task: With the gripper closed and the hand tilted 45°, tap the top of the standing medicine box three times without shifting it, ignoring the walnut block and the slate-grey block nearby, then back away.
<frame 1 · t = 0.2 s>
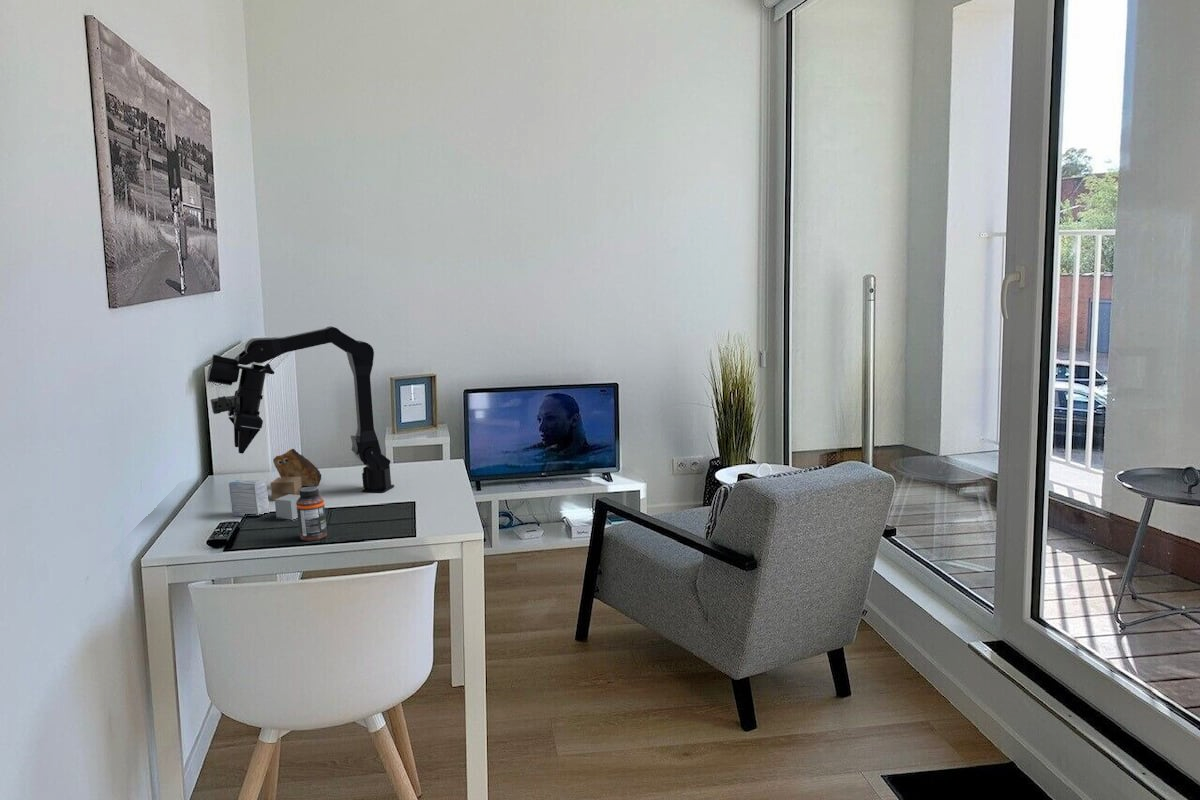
hand: (238, 450, 244), 15 cm above the table, tool tilted 15°, fingers open, 9 cm apart
slate-grey block: (291, 517, 238), on the table
medicine box: (251, 515, 242), on the table
walnut block: (287, 498, 257), on the table
supplement bottle: (313, 538, 220), on the table
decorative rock: (299, 486, 270), on the table
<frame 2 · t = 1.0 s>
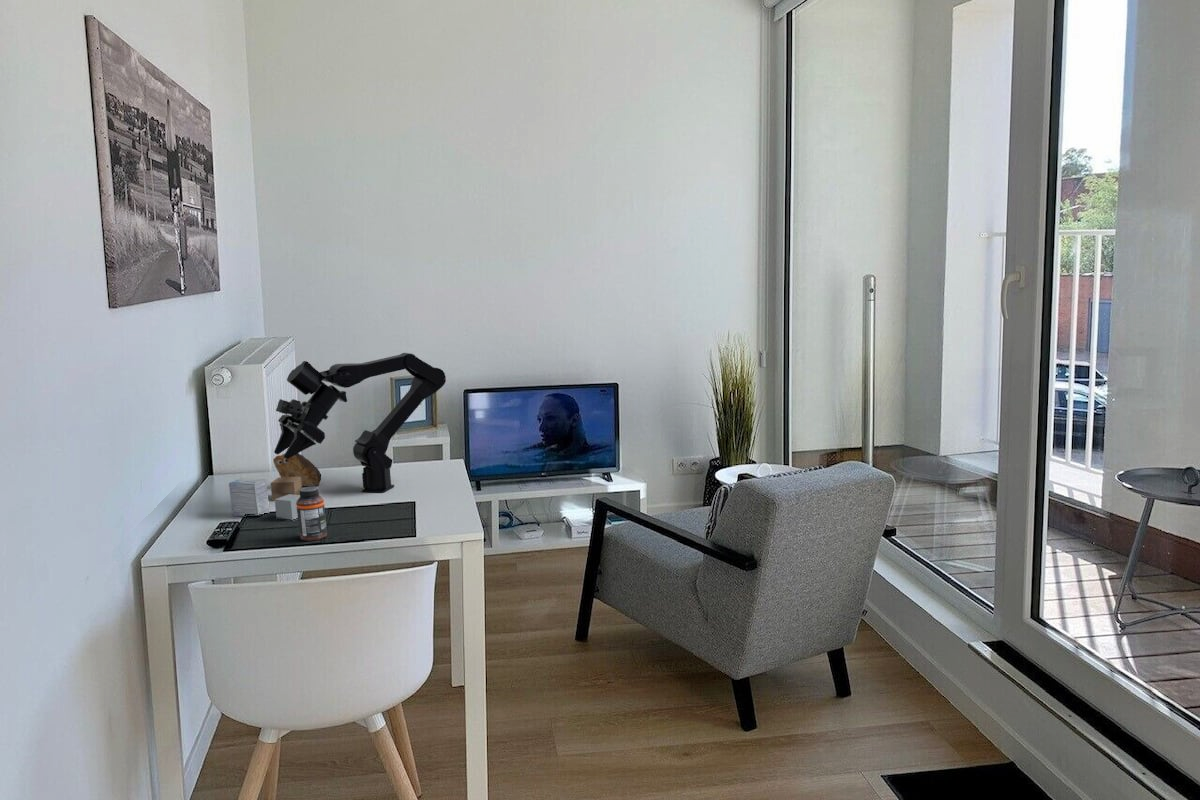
hand: (280, 455, 245), 13 cm above the table, tool tilted 45°, fingers open, 7 cm apart
nothing on the table moved.
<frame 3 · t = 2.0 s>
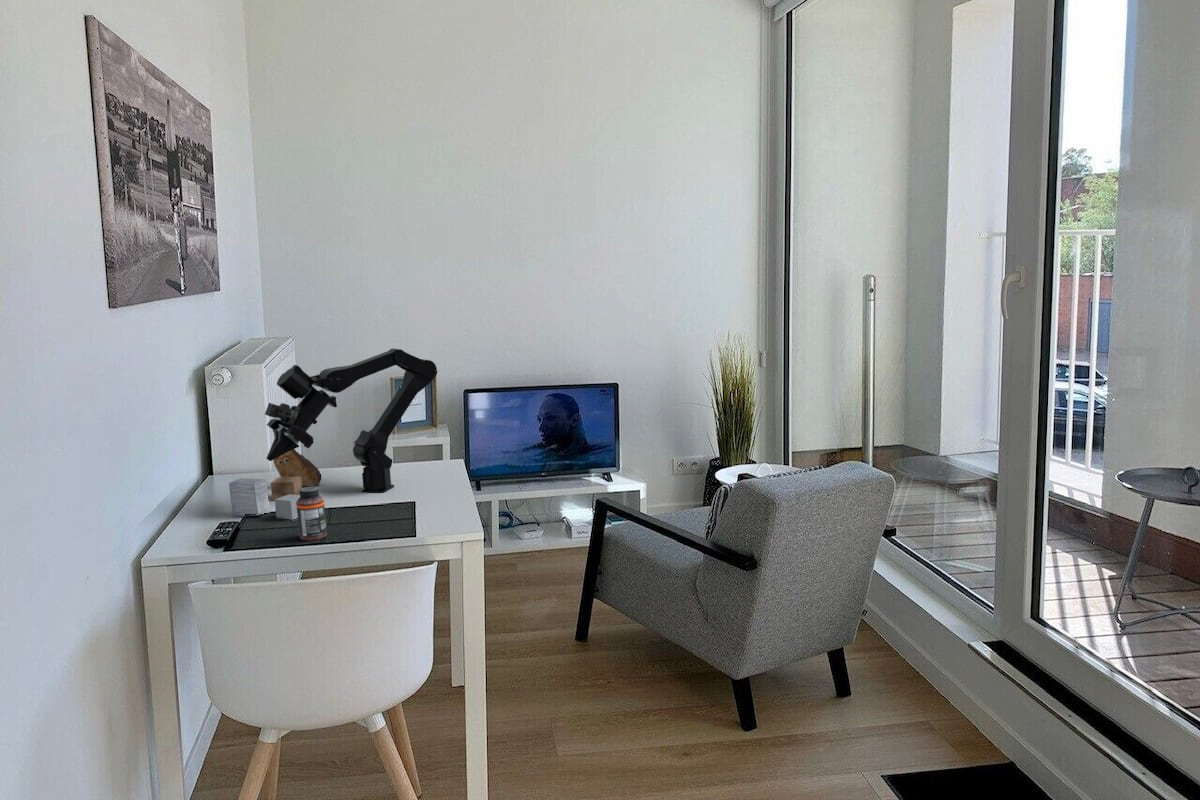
hand: (268, 459, 243), 13 cm above the table, tool tilted 45°, fingers closed
nothing on the table moved.
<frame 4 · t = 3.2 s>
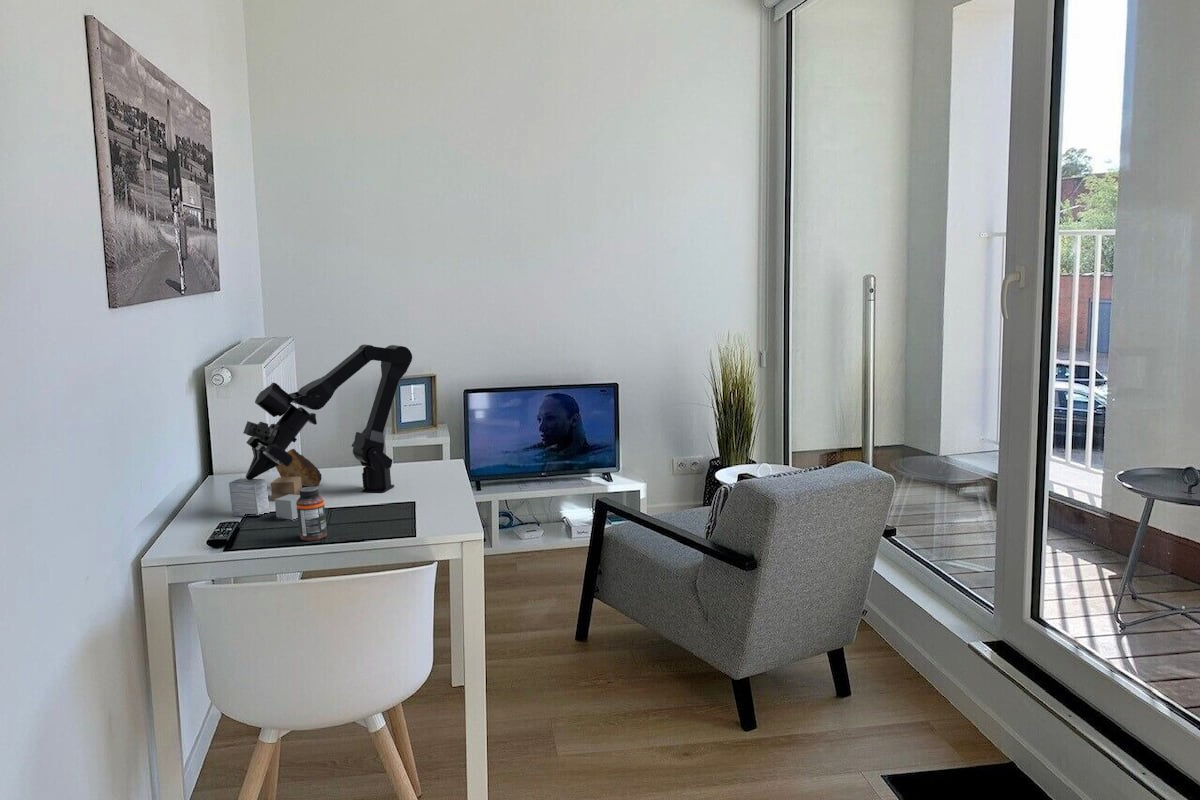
hand: (247, 478, 240), 9 cm above the table, tool tilted 45°, fingers closed
nothing on the table moved.
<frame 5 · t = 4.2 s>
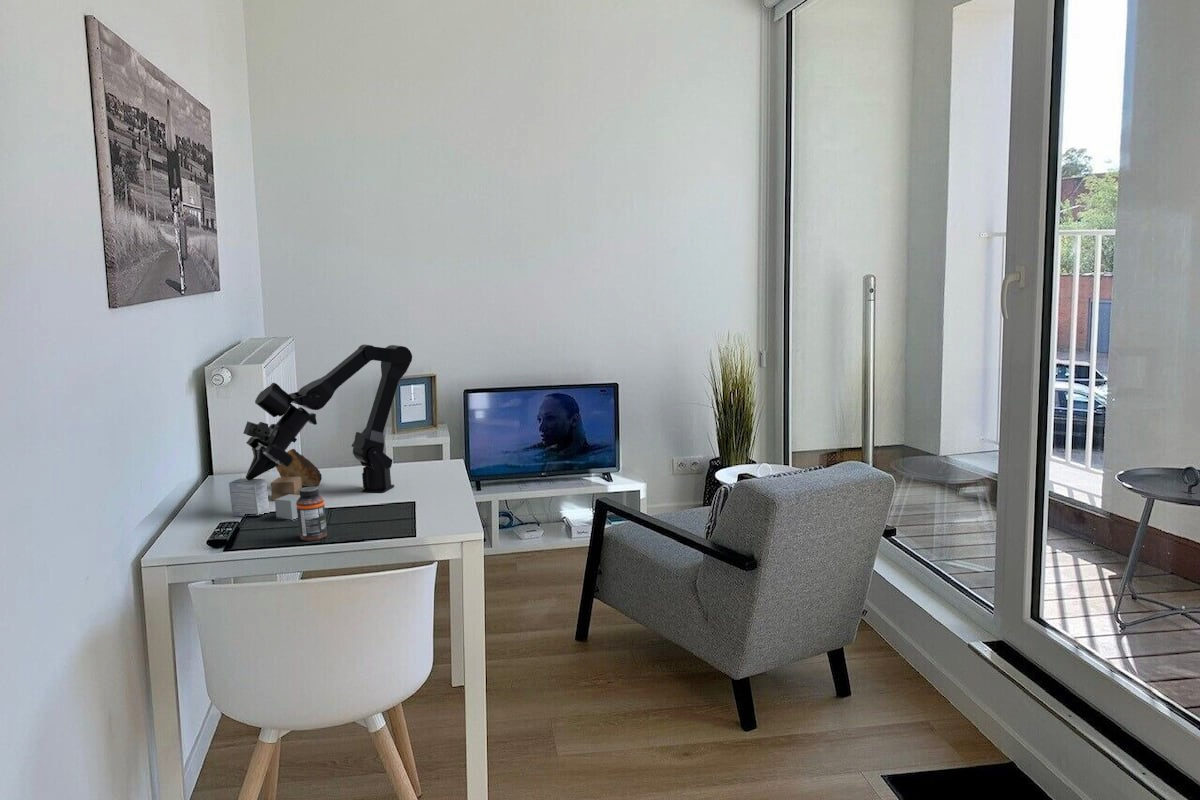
hand: (247, 479, 240), 9 cm above the table, tool tilted 45°, fingers closed
nothing on the table moved.
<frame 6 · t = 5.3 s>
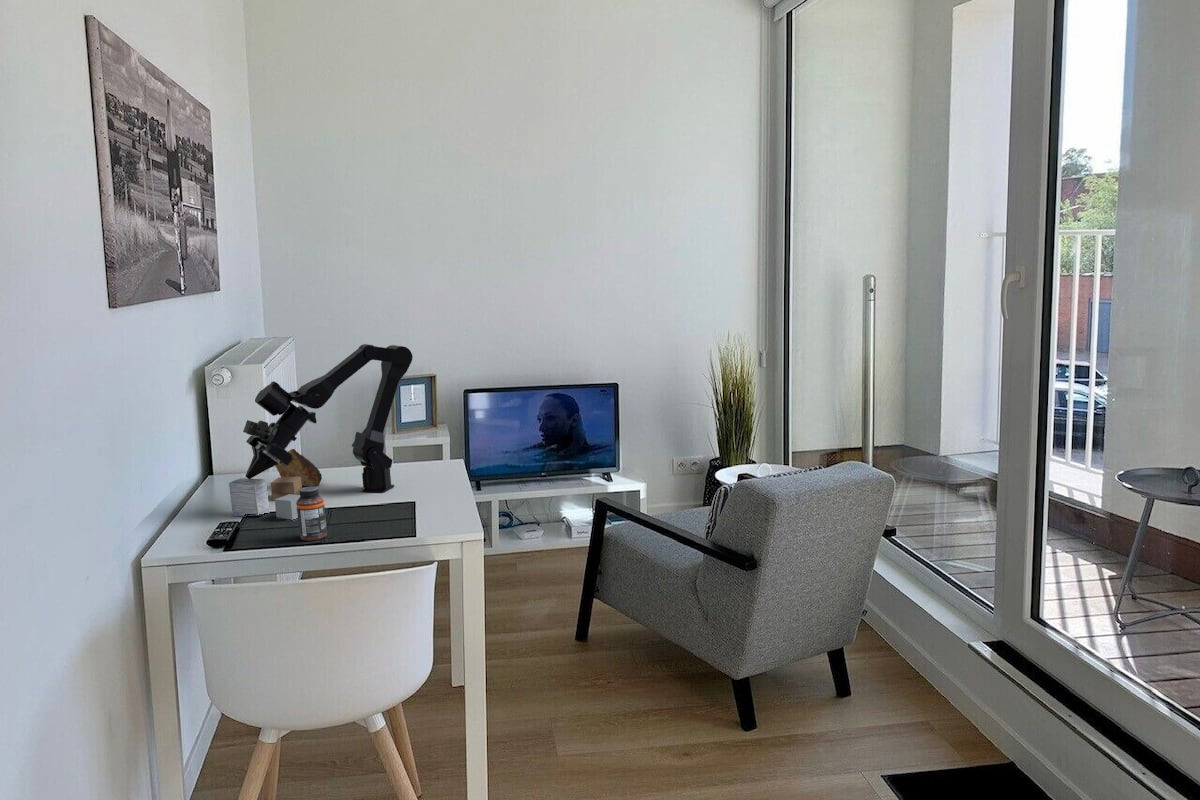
hand: (247, 477, 240), 9 cm above the table, tool tilted 45°, fingers closed
nothing on the table moved.
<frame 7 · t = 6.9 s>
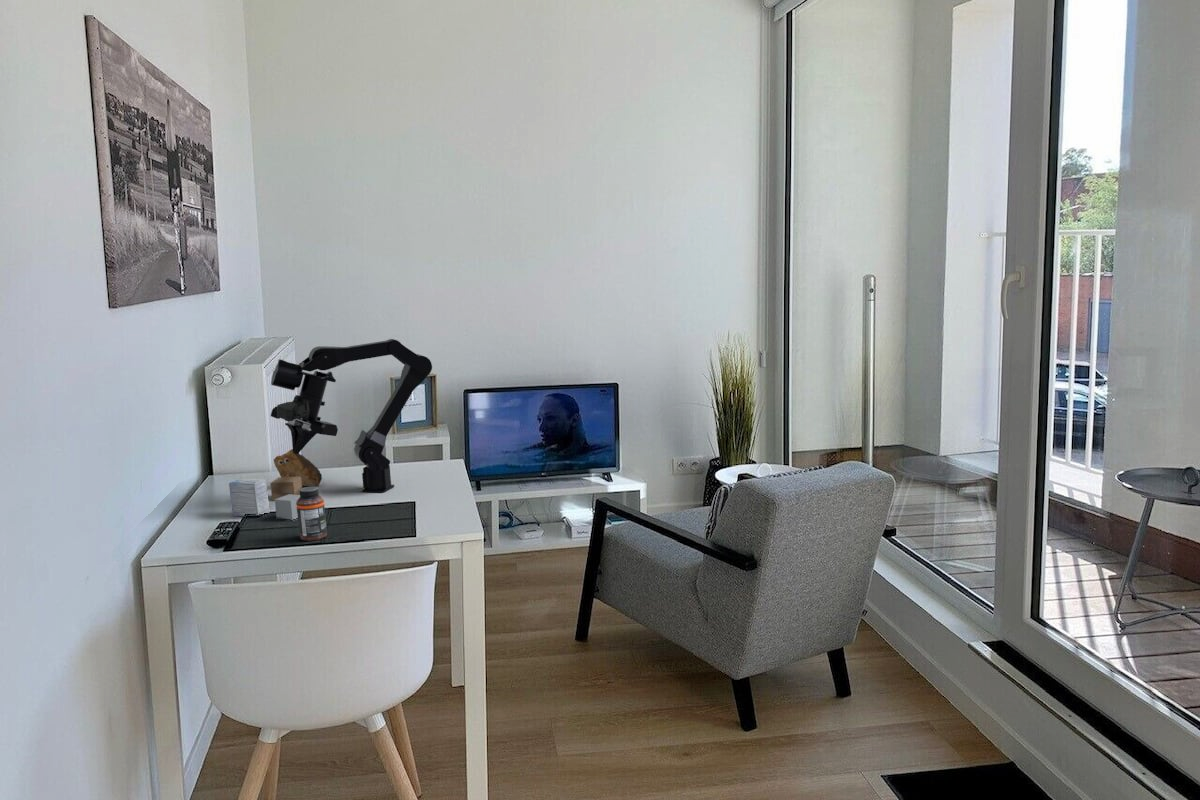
hand: (295, 453, 251), 12 cm above the table, tool tilted 20°, fingers closed
nothing on the table moved.
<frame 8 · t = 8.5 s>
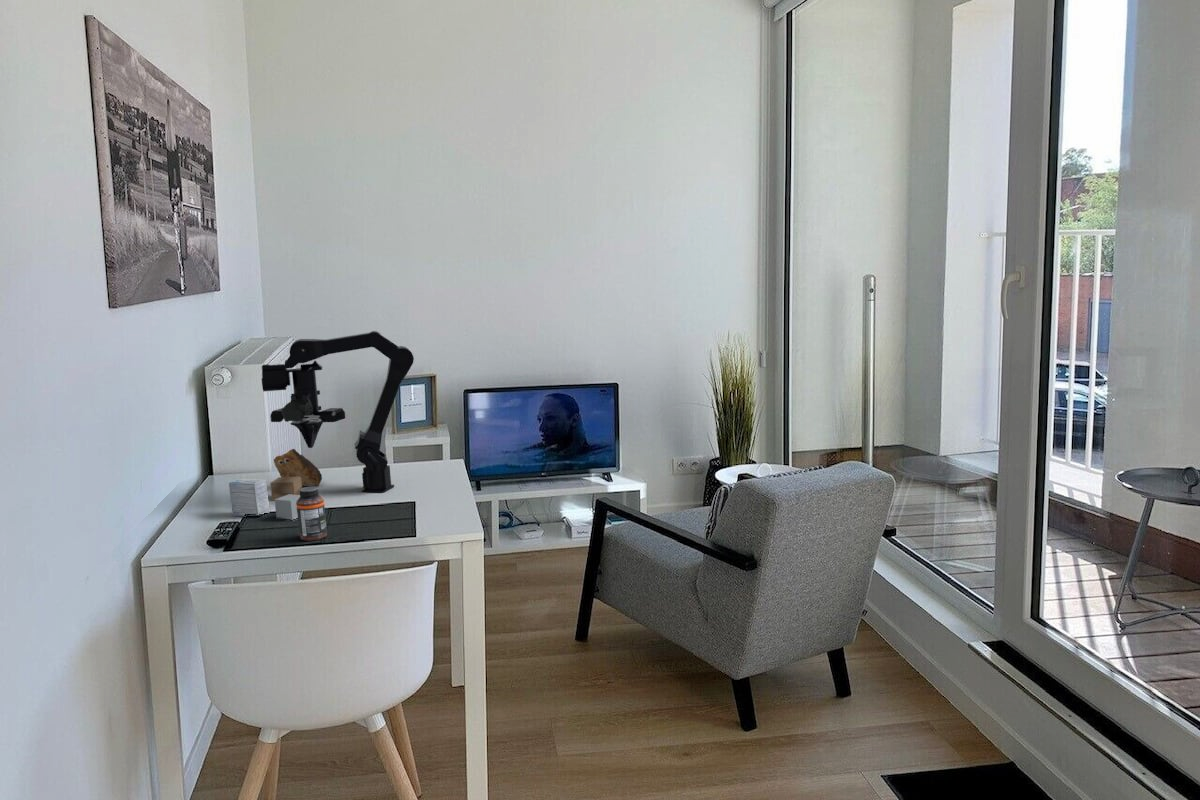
hand: (310, 447, 255), 13 cm above the table, tool pointing down, fingers closed
nothing on the table moved.
at the end: medicine box moved 0.3 cm from its start; medicine box tilted 0°; medicine box touching table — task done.
